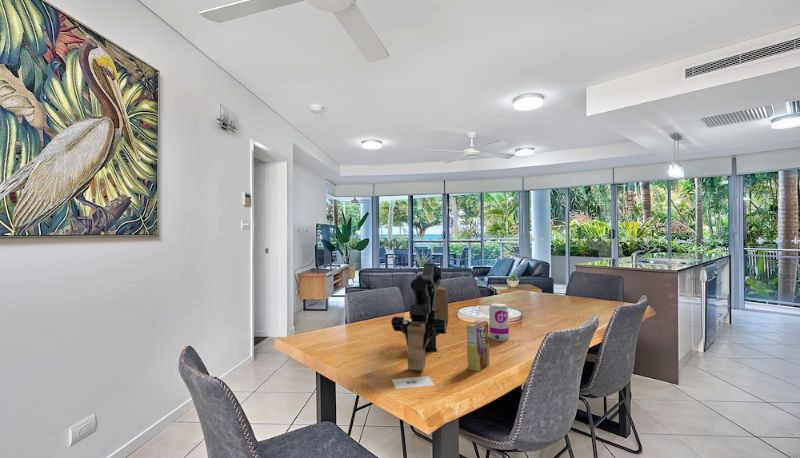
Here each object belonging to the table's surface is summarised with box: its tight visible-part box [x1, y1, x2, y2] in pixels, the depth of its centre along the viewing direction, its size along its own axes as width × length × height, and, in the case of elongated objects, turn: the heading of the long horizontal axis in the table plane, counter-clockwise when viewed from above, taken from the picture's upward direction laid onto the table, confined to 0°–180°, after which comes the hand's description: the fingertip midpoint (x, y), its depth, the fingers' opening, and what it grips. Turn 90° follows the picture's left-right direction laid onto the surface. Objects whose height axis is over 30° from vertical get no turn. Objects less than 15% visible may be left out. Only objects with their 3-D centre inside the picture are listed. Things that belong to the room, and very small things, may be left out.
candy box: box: [466, 319, 491, 373], centre depth 120 cm, size 9×4×15 cm, turn 140°
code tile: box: [391, 375, 435, 390], centre depth 107 cm, size 12×7×1 cm, turn 102°
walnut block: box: [407, 323, 426, 371], centre depth 117 cm, size 5×5×14 cm
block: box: [434, 286, 449, 329], centre depth 174 cm, size 11×8×20 cm
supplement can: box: [488, 302, 510, 342], centre depth 154 cm, size 8×8×15 cm
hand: (415, 347), depth 115 cm, fingers closed on walnut block, 5 cm apart
